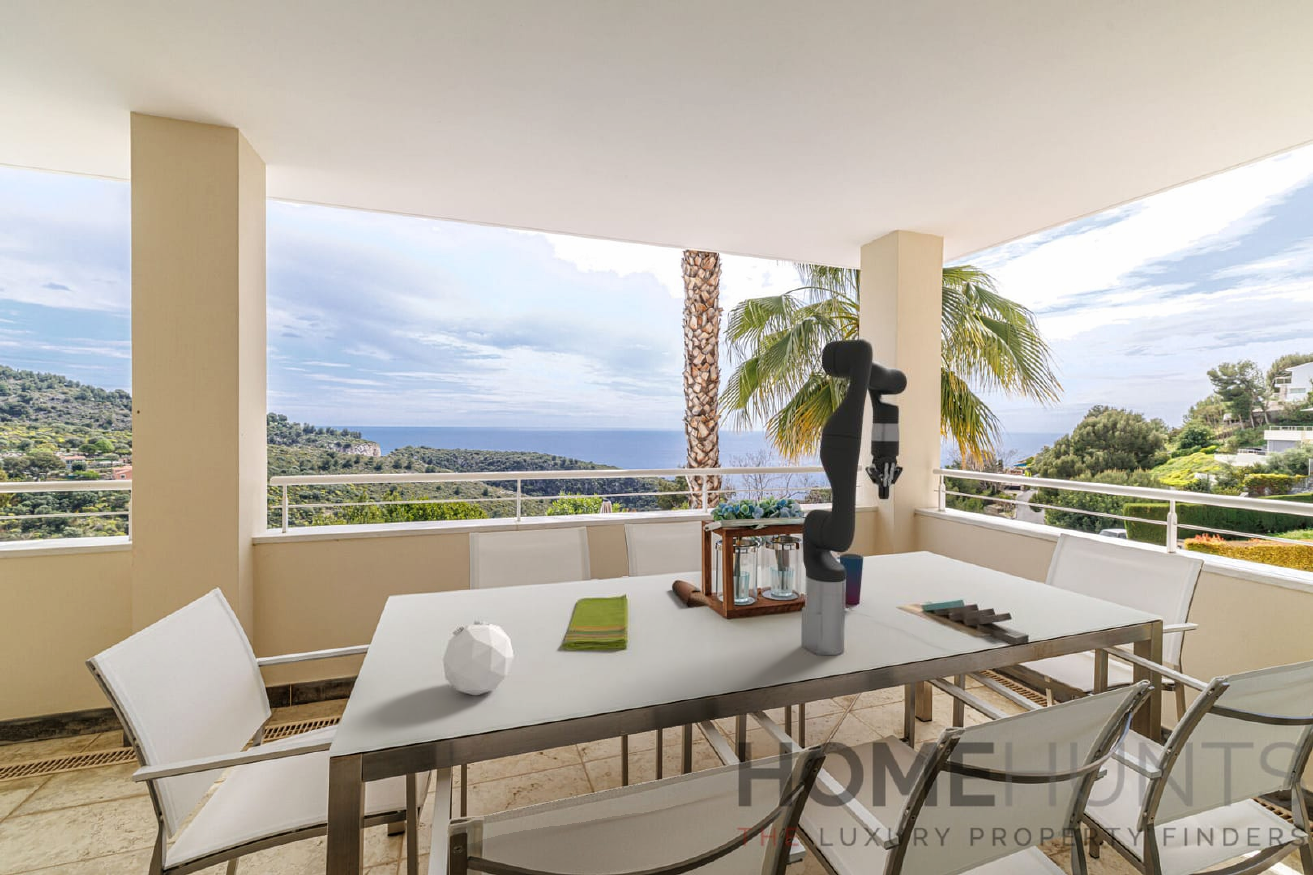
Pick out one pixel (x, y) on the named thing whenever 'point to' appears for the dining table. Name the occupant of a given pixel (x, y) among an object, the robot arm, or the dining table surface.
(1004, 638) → the domino
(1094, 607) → the dining table surface
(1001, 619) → the domino
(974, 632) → the board
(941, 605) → the domino
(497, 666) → the geodesic sphere
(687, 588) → the sunglasses case
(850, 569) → the cup
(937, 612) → the domino
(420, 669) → the dining table surface
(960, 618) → the domino
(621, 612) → the dish towel
